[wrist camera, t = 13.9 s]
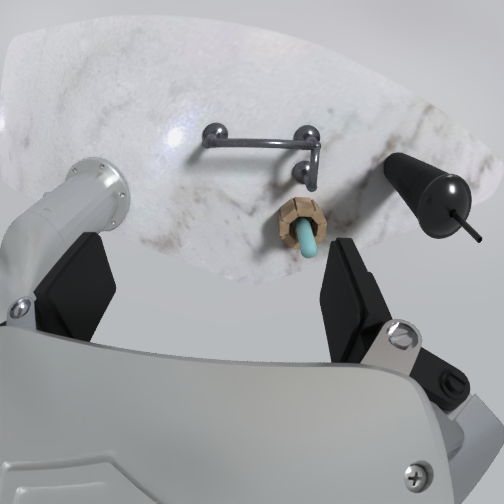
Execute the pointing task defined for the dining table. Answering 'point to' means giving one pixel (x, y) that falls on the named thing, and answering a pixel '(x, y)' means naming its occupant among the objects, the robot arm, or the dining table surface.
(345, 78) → the dining table surface
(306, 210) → the ring
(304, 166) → the corner grab bar
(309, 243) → the peg
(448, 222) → the drinking cup
